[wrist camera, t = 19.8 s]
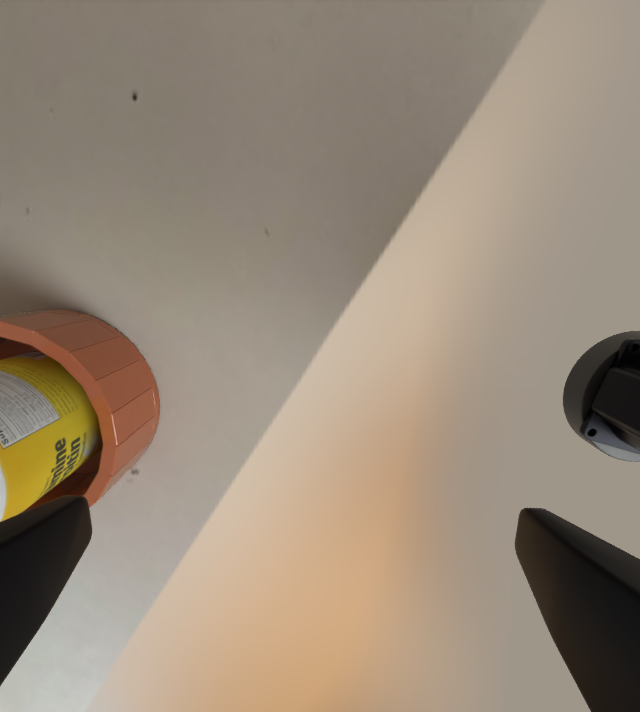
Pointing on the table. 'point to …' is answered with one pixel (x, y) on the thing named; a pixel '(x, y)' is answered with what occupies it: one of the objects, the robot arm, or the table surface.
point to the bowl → (93, 390)
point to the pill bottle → (41, 429)
